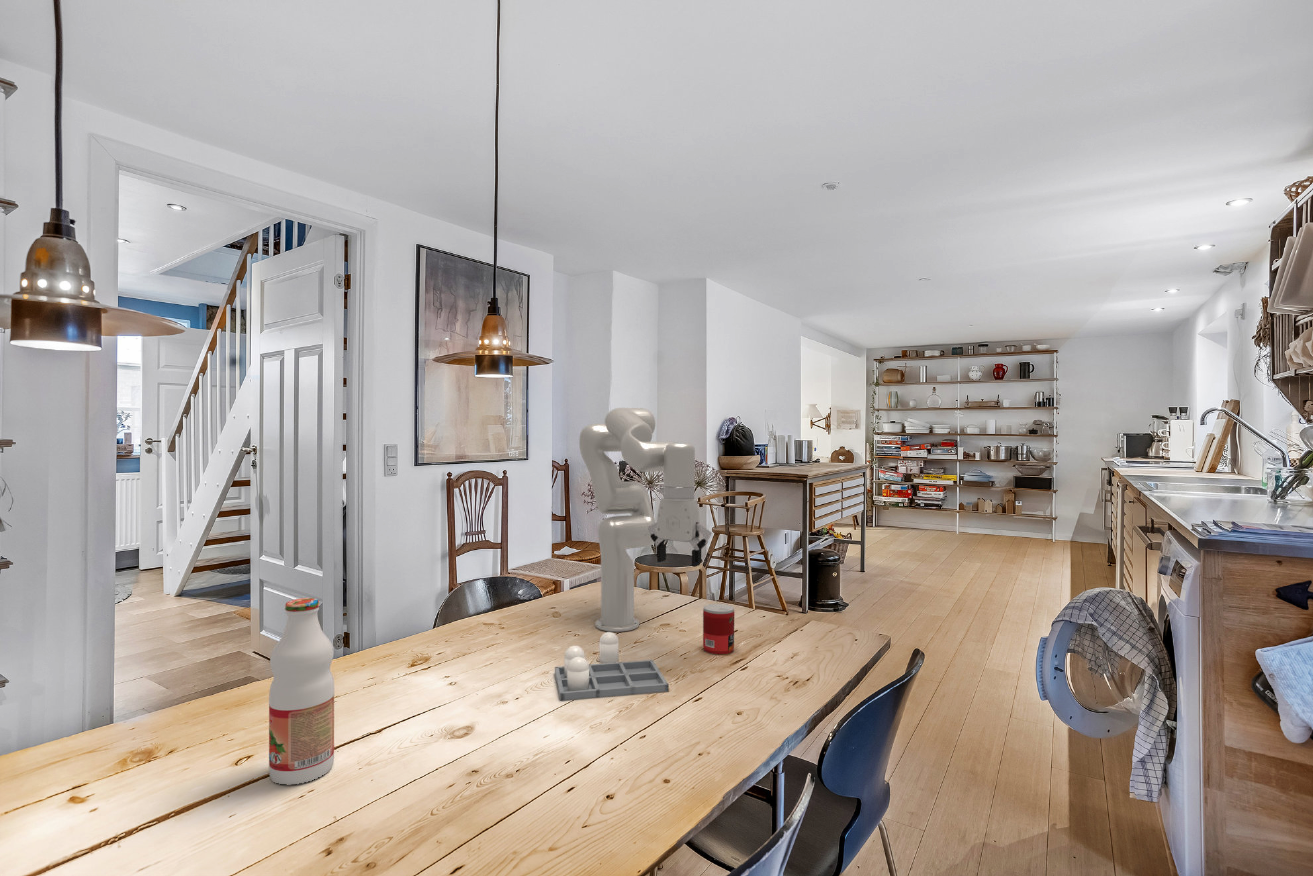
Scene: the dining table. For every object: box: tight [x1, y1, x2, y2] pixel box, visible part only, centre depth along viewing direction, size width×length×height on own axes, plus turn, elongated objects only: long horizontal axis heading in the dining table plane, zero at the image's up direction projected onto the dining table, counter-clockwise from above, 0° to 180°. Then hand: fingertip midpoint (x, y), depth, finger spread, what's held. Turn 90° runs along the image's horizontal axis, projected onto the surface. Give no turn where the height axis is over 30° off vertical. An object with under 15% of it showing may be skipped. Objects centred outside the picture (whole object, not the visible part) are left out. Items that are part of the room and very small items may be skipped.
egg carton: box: [554, 659, 670, 702], centre depth 145 cm, size 16×23×2 cm
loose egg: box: [598, 631, 619, 664], centre depth 159 cm, size 5×5×7 cm
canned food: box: [702, 603, 735, 655], centre depth 168 cm, size 8×8×11 cm
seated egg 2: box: [567, 657, 590, 691], centre depth 140 cm, size 5×5×7 cm
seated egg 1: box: [563, 645, 586, 678], centre depth 147 cm, size 5×5×7 cm
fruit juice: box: [268, 597, 335, 786], centre depth 107 cm, size 9×9×28 cm
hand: (678, 563), depth 160 cm, fingers open, 9 cm apart
